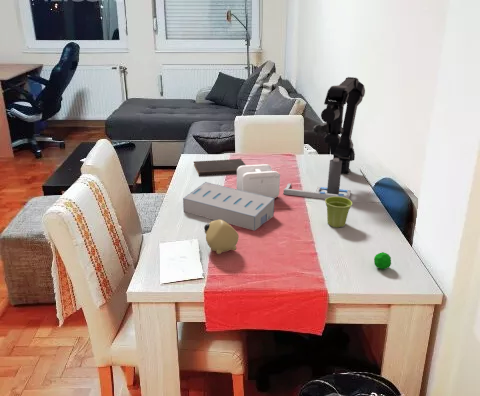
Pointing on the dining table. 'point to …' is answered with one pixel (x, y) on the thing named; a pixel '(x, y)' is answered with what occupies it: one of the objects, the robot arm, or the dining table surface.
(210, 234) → the tan rounded figure
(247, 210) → the warehouse
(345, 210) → the plant pot
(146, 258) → the dining table surface
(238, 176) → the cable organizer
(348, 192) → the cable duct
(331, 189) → the grey bottle
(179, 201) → the dining table surface
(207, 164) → the hardcover book
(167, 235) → the dining table surface
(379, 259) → the polyhedron
